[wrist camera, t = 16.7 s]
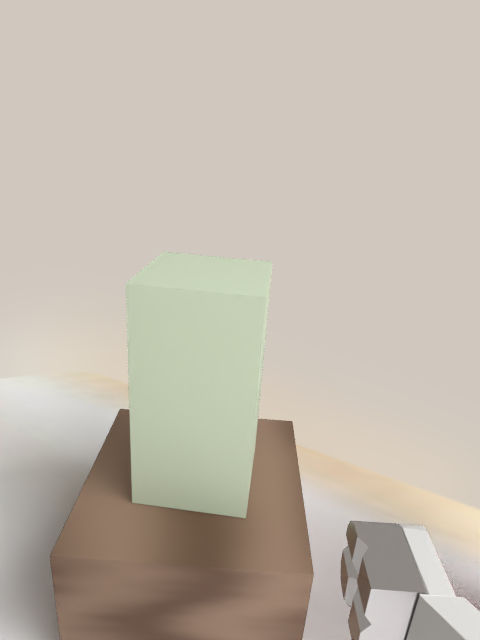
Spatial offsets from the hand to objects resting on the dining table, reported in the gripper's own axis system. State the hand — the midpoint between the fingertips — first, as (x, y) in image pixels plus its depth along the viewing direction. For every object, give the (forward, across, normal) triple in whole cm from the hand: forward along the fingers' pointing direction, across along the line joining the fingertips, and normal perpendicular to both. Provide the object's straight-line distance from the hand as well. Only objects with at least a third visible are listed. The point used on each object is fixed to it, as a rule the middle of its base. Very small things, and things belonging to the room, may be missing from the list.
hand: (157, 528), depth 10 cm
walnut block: (+10, 0, +13) cm, 17 cm away
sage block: (+10, 0, +7) cm, 13 cm away
